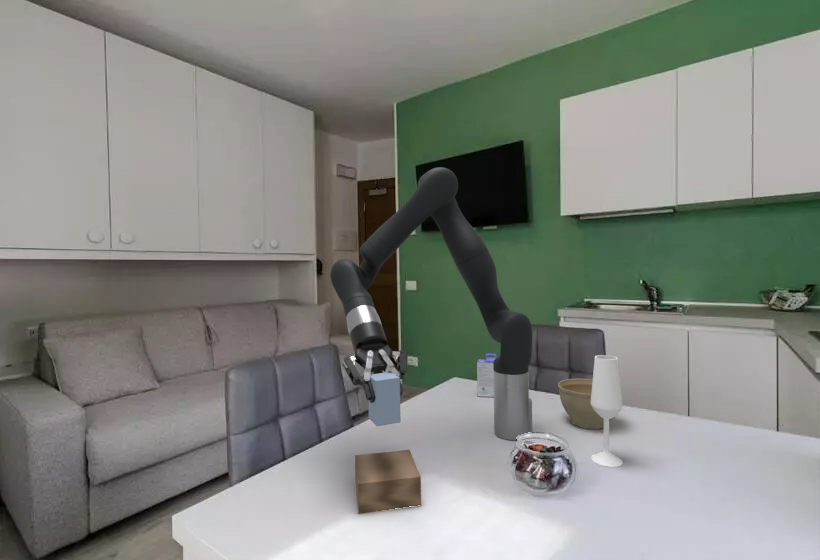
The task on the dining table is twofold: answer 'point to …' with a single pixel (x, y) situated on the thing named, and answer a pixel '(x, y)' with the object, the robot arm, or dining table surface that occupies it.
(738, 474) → the dining table surface
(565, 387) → the planter bowl
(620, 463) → the champagne flute
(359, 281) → the robot arm
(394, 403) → the slate blue pillar block
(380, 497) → the walnut block
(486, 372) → the ink cartridge box
